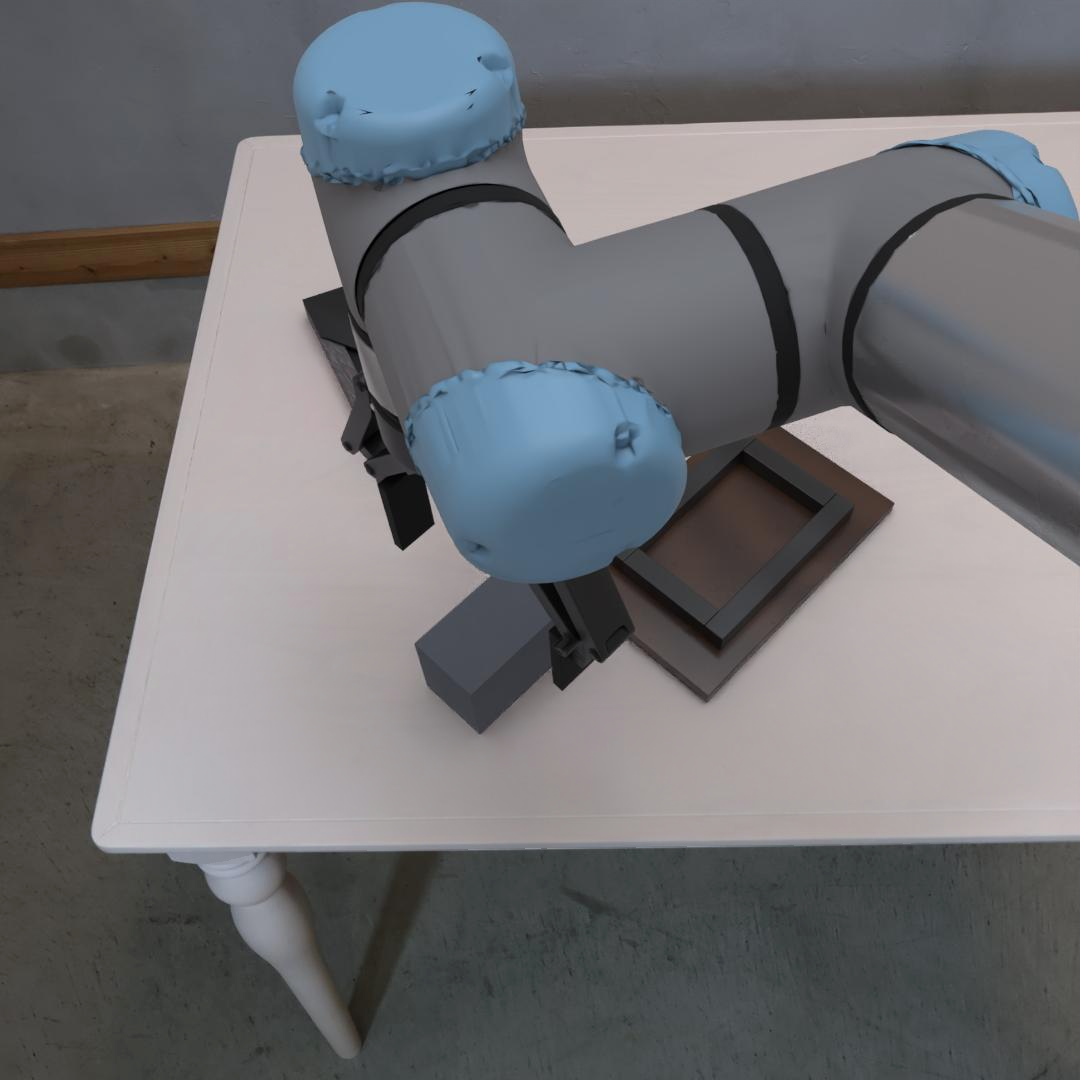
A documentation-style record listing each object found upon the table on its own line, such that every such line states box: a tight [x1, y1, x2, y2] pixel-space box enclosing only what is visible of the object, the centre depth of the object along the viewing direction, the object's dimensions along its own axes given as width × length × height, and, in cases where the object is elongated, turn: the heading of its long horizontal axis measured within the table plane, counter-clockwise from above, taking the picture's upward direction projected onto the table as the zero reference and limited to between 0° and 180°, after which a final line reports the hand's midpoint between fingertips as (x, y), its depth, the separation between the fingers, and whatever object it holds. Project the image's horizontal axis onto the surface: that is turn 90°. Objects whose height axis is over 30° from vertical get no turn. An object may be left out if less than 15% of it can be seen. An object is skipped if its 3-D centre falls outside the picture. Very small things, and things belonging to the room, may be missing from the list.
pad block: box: [413, 575, 555, 735], centre depth 71 cm, size 9×5×6 cm, turn 136°
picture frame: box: [301, 285, 363, 409], centre depth 87 cm, size 13×2×18 cm
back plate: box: [607, 426, 895, 703], centre depth 77 cm, size 20×13×2 cm, turn 136°
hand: (491, 600), depth 67 cm, fingers open, 13 cm apart
